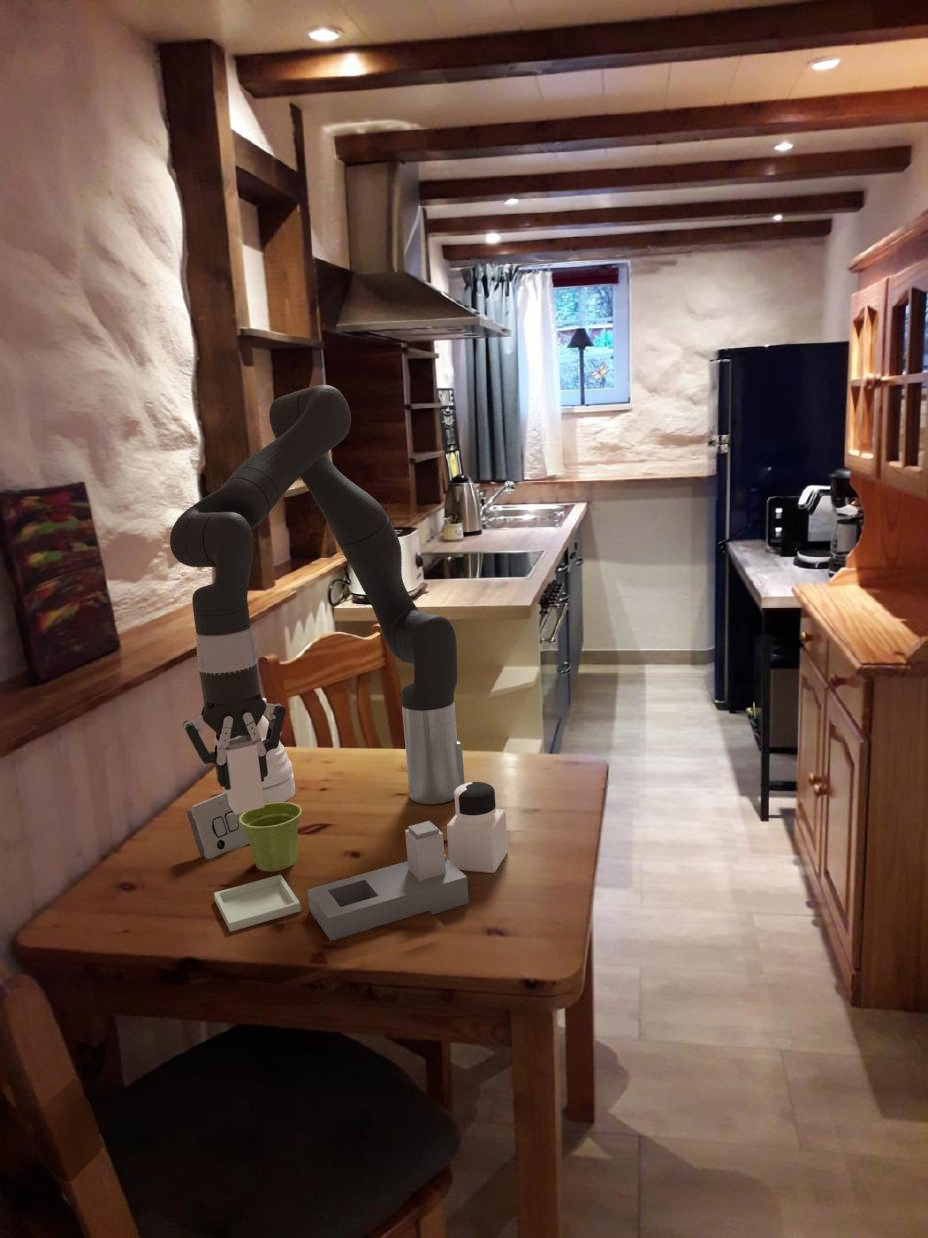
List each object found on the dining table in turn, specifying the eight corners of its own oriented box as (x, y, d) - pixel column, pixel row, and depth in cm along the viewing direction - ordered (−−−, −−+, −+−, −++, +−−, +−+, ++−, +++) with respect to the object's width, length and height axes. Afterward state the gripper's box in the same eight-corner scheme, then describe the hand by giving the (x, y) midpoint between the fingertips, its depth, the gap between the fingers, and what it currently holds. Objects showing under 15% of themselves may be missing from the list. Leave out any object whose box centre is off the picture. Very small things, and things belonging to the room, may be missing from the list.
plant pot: (240, 861, 149) (234, 810, 147) (299, 847, 152) (293, 796, 150) (252, 886, 140) (245, 832, 138) (314, 871, 144) (308, 818, 142)
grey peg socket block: (441, 877, 139) (436, 809, 137) (468, 903, 131) (463, 832, 129) (310, 915, 131) (302, 845, 129) (331, 946, 123) (323, 871, 121)
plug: (257, 797, 132) (249, 732, 130) (264, 807, 129) (256, 740, 127) (228, 804, 131) (219, 738, 129) (235, 814, 127) (226, 747, 125)
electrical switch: (210, 865, 148) (199, 808, 147) (191, 860, 152) (180, 805, 150) (257, 842, 156) (247, 788, 154) (238, 837, 159) (228, 785, 157)
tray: (282, 887, 140) (280, 874, 139) (301, 916, 131) (300, 903, 131) (215, 905, 135) (213, 892, 135) (230, 937, 127) (229, 923, 126)
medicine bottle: (508, 852, 146) (503, 779, 143) (494, 874, 139) (489, 798, 136) (464, 848, 148) (459, 776, 145) (449, 869, 141) (443, 794, 139)
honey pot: (281, 776, 183) (271, 687, 180) (305, 797, 172) (294, 703, 169) (216, 793, 177) (203, 701, 173) (236, 816, 166) (223, 718, 163)
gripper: (273, 648, 132) (286, 764, 135) (168, 666, 126) (185, 787, 130) (287, 659, 125) (301, 781, 129) (178, 679, 119) (195, 806, 123)
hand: (243, 783), depth 129 cm, fingers closed on plug, 4 cm apart
